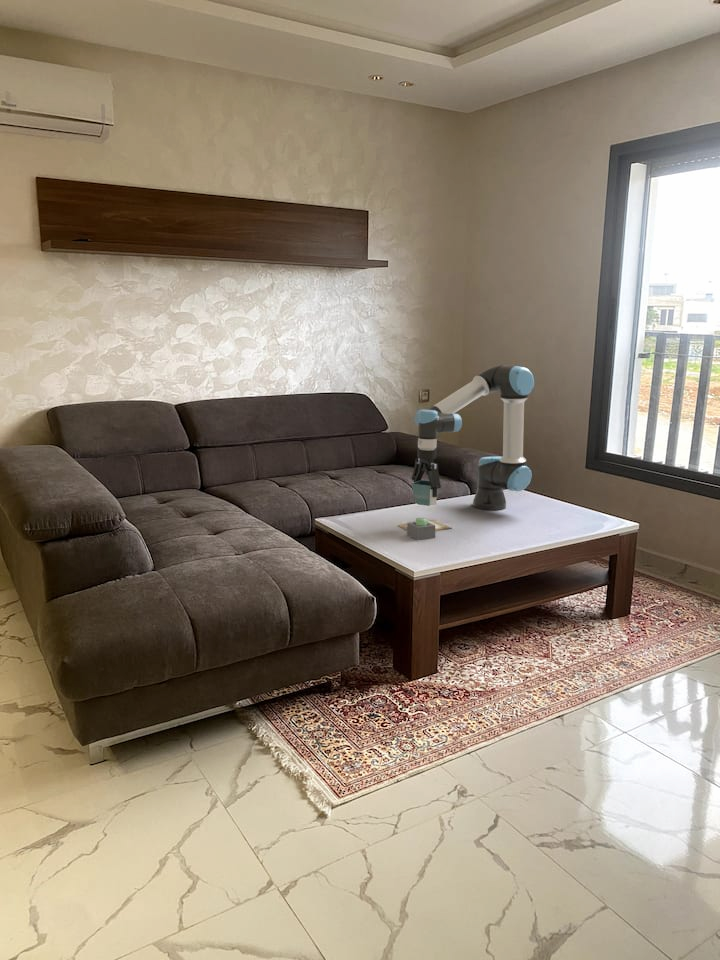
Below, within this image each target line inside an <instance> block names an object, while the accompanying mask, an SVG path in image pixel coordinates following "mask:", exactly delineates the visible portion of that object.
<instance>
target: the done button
mask: <svg viewBox="0 0 720 960" xmlns="http://www.w3.org/2000/svg"><path fill="white" fill-rule="evenodd" d="M427 521H428V518H425V517H416V518H415V522H416V525H417V526H426V525H427Z"/></svg>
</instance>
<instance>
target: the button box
mask: <svg viewBox="0 0 720 960" xmlns="http://www.w3.org/2000/svg"><path fill="white" fill-rule="evenodd" d="M406 535H407V536H409V537H411V538H413V539H414V540H416V541H421V540H427V539H428V540H430V539H435V538H436V531H435V525H433V524H431V523H429V522H427V525H426V526H417V525H416V521H409V522H407V530H406Z"/></svg>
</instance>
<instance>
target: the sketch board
mask: <svg viewBox="0 0 720 960" xmlns="http://www.w3.org/2000/svg"><path fill="white" fill-rule="evenodd" d="M427 522H429V523H431V524H433V525H435V532H438V531H446V530H452V526H449V525H447V524H446V523H442V522H441V521H438V520H436V519H432V520H431V519H430V520H427ZM407 523H408V522H407ZM407 523H400V524H399V523H398V524H397V527H399V528H401V529H403V530H405V531H407Z"/></svg>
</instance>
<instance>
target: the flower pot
mask: <svg viewBox="0 0 720 960" xmlns="http://www.w3.org/2000/svg"><path fill="white" fill-rule="evenodd" d="M433 486H434V485H433ZM411 488H412V495H413V499H414V501H415V503H416V505H421V506H427V507H428V506H431V505H430V488H431V485H430V481H429V480H424V479H421V480H419V481H417V482H415V483H414V482H413V483H411ZM439 489H440V488H438V489H437V496H438V495H439Z"/></svg>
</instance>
